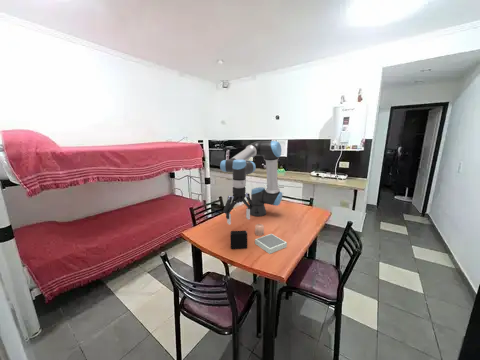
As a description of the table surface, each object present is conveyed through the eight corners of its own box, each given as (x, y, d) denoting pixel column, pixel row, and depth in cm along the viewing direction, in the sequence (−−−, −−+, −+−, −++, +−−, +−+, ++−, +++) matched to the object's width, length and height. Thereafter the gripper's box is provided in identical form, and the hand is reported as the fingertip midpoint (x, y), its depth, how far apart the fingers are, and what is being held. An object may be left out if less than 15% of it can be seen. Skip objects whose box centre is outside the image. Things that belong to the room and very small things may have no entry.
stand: (254, 243, 128) (255, 238, 127) (271, 237, 136) (271, 233, 135) (269, 254, 117) (269, 248, 116) (286, 247, 124) (286, 242, 123)
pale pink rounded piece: (253, 233, 142) (253, 225, 141) (259, 231, 145) (260, 223, 144) (258, 236, 137) (258, 228, 136) (265, 234, 140) (265, 226, 139)
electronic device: (230, 245, 125) (230, 230, 123) (246, 245, 126) (246, 230, 124) (230, 249, 121) (230, 234, 119) (247, 248, 122) (247, 233, 120)
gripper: (223, 190, 106) (223, 228, 110) (260, 185, 119) (259, 218, 124) (216, 188, 112) (217, 223, 116) (252, 183, 125) (251, 215, 130)
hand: (238, 221), depth 120 cm, fingers open, 13 cm apart
